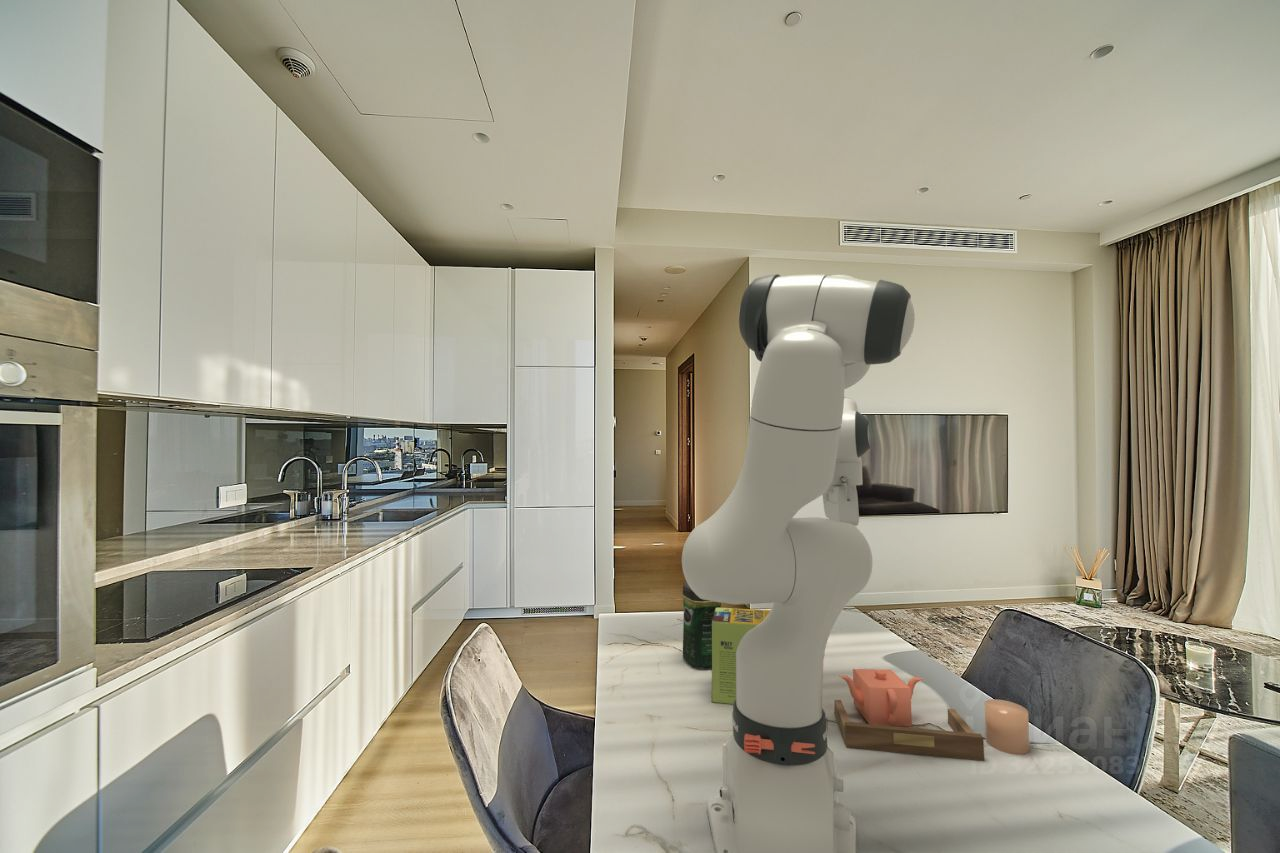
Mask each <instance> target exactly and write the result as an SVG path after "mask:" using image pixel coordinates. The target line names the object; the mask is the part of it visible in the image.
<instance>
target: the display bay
mask: <svg viewBox="0 0 1280 853" xmlns="http://www.w3.org/2000/svg"><path fill="white" fill-rule="evenodd" d="M833 700H834V701H833V702H834V703H833V704H834V706H833V707H834V712H833V713H834V716H835V719H836V722H837V725H838V728H839V730H840V733H841V735H842V739H843V741H844V744H845V747H846V748H850V749H862V750H870V751H880V752H881V751H882V752H890V753H901V754H911V755H922V756H931V757H932V756H933V757H941V758H952V759H953V758H954V759H962V760H975V761H983V762H984V761H985V746H984V745H985V744H984V743H985V742H984V741H985V740H984V737H983V735H982V734H981V733H976V732H974V731H973V730H972V728H971V727H970V726H969V725H968V723H967V722H966V721H965V719H964V718H963V717H962V716H961V715H960V714H959V713H958V711H957V710H956V709H953V708H947V724H948V725H949V727H950V728H951V729H952V730H944V729H943V730H939V729H930V728H920V727H909V726H887V725H876V724H869V723H864V722H863V723H862V722H852V721H850V719H849V717H848V715H847V711H846V710H845V706H844V704H843V701H842V700H841V699H833Z"/></svg>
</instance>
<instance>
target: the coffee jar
mask: <svg viewBox="0 0 1280 853" xmlns="http://www.w3.org/2000/svg"><path fill="white" fill-rule="evenodd" d="M682 586H683V587H682V603H683V605H682V606H683V628H682V630H683V631H682V632H683V633H682V634H683V636H682V658H683V659H684V661H685V662H686V663H687V664H689V665H690V666H691V667H693V668H696V669H705V670H710V669H711V670H712V619H713V617H714V612H715V608H722V607H721V606H722V603H720V602H714V601H709V600H703V599H700V598H699V597H698V596H697V595H696V594H695V593H694V592H693V591H692V589H691V588H690V586H689V585H688V583H687V581H686V580H685V582H684V583H683V585H682Z"/></svg>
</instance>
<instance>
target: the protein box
mask: <svg viewBox="0 0 1280 853" xmlns="http://www.w3.org/2000/svg"><path fill="white" fill-rule="evenodd" d="M770 611H771V609H769V610H768V609H755V608H734V607H721V608H715V612H714V617H713V619H712V668H711V702H712V703H718V704H719V703H720V704H727V705H733V704H734V701H735V700H736V651H737V647H738V645H739V642H740V641H741V639H742V637H743V636H744V635H745V634H746V633H747V632H748V631H749V630H751V629H752V628H754V627H756V626H757V625H759V624H760V623H761V622H762V621H763V620H764V619H765V618H766V617H767V615H768V614H769V612H770Z"/></svg>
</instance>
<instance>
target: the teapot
mask: <svg viewBox="0 0 1280 853" xmlns="http://www.w3.org/2000/svg"><path fill="white" fill-rule="evenodd" d="M838 677H839V678H841V679H843V680H844V681H845V682H846V684H847V686H848V689H849V693H850V695H851V697H852V699H853V704H854V706H855V707H856V709H857V710H858V711H859V714H860V715H861V716H862V717H863V718H864V719H865V721H866V723H867V724H876V725H887V726H898V727H910V728H913V726H912V725H913V722H912V720H913V719H912V698H913V695H914V691H915V687H916V684H917V683H919V682H920V681H923V679H924V678H923V677H918V676H914V677H911V678H910V679H909V680H908V682H907V683H905V681H904V680H903V679H902V678H900V677H899V676H898V674H896V673H895V672H894V671H893V670H892V669H878V668H877V669H875V668H874V669H873V668H871V669H870V668H853V669H852V678H851V677H850V676H848V675H839V676H838Z"/></svg>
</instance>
